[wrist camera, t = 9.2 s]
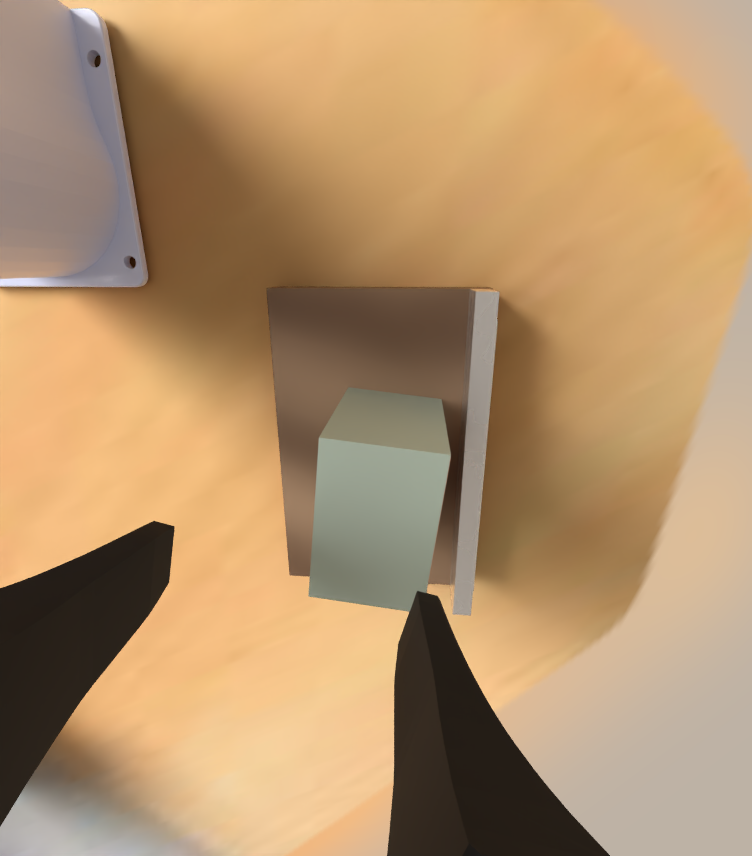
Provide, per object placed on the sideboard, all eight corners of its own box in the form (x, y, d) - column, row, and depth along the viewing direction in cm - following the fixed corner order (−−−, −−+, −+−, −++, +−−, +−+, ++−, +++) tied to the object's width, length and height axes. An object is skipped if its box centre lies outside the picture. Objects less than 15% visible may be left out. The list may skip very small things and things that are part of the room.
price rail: (469, 288, 17) (476, 291, 15) (493, 289, 17) (502, 291, 15) (449, 584, 22) (452, 614, 20) (468, 585, 22) (472, 615, 20)
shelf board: (275, 286, 19) (266, 288, 18) (488, 287, 18) (493, 289, 17) (295, 560, 24) (289, 575, 23) (465, 570, 23) (468, 585, 22)
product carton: (337, 508, 21) (308, 596, 16) (348, 387, 19) (318, 437, 13) (424, 521, 21) (427, 613, 15) (445, 399, 19) (455, 455, 13)
